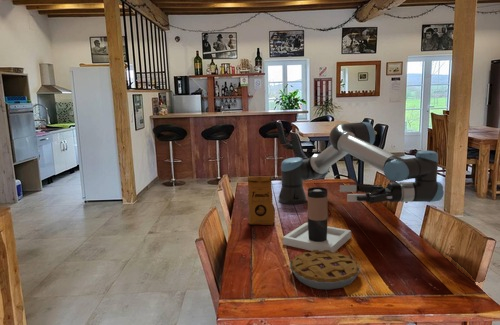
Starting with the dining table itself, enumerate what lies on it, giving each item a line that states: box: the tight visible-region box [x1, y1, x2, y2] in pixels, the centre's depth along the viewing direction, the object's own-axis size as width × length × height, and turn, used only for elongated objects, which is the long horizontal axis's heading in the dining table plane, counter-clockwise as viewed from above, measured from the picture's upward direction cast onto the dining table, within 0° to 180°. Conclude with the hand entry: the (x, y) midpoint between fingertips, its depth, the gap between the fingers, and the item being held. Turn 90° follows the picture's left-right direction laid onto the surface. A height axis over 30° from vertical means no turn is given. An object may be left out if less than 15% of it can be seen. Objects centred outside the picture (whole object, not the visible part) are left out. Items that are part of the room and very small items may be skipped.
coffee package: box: [247, 176, 276, 226], centre depth 170 cm, size 10×12×22 cm
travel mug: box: [307, 186, 328, 242], centre depth 146 cm, size 8×8×20 cm
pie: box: [289, 250, 361, 290], centre depth 120 cm, size 22×22×5 cm
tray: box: [282, 221, 352, 252], centre depth 148 cm, size 20×20×3 cm
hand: (343, 193), depth 144 cm, fingers open, 13 cm apart
